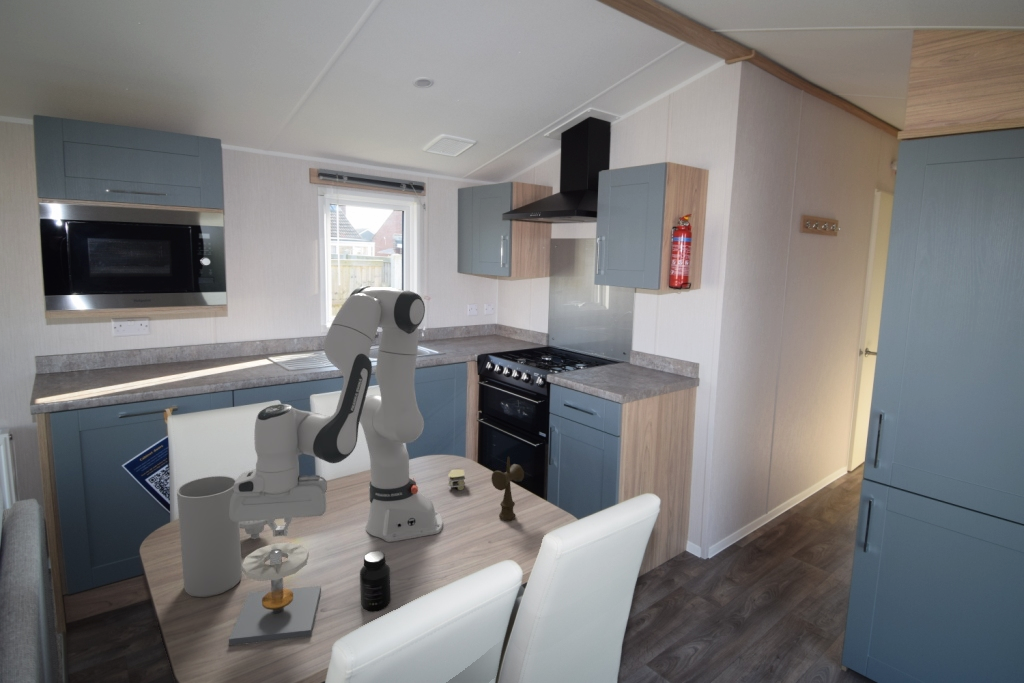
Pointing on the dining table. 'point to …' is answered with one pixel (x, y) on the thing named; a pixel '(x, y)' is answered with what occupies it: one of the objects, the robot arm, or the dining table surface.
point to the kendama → (507, 488)
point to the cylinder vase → (208, 536)
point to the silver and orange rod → (277, 589)
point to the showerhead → (253, 527)
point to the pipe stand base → (276, 618)
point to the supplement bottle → (375, 582)
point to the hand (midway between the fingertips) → (280, 535)
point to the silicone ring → (262, 572)
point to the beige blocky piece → (457, 479)
